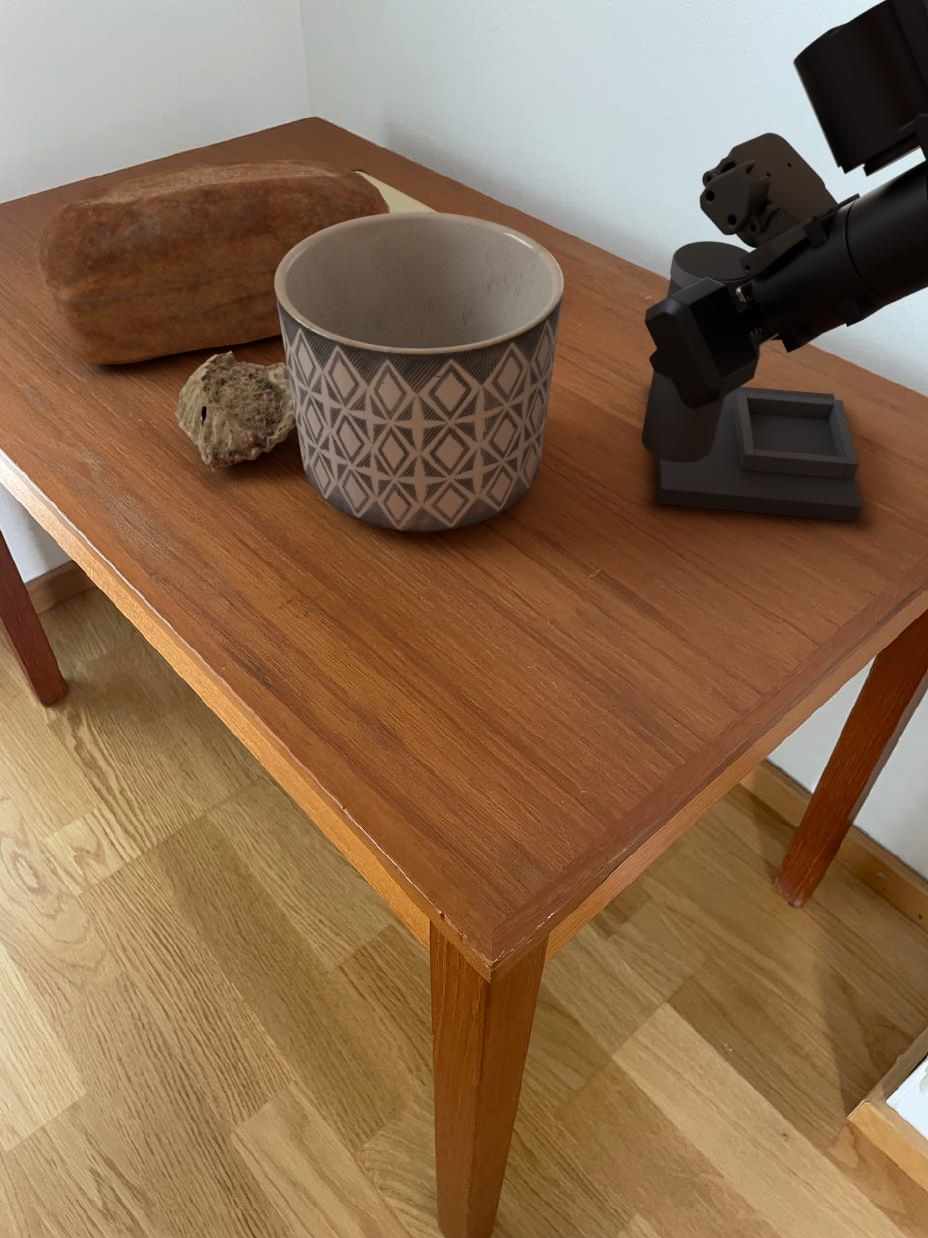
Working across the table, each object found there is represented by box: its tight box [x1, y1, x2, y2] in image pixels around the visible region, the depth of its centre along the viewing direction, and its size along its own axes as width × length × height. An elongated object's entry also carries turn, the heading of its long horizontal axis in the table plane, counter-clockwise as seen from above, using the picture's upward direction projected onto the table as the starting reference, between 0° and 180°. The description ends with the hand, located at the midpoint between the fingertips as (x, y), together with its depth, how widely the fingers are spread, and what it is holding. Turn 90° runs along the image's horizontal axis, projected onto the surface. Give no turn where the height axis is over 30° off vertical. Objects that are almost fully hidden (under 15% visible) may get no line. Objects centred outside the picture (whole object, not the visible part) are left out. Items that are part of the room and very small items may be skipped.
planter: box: [274, 211, 565, 533], centre depth 70 cm, size 19×19×16 cm
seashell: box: [174, 350, 297, 473], centre depth 77 cm, size 11×7×10 cm
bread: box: [33, 159, 390, 366], centre depth 86 cm, size 12×31×14 cm, turn 112°
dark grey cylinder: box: [640, 240, 754, 463], centre depth 64 cm, size 5×5×14 cm
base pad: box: [656, 386, 863, 522], centre depth 78 cm, size 15×15×3 cm
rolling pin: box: [348, 167, 438, 213], centre depth 99 cm, size 32×6×5 cm, turn 39°
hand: (678, 349), depth 64 cm, fingers closed on dark grey cylinder, 5 cm apart
